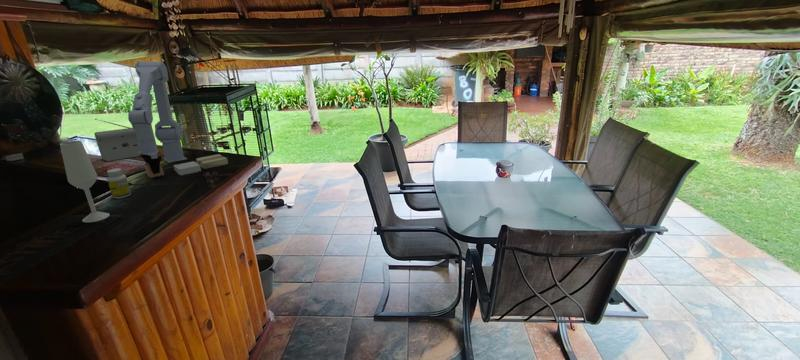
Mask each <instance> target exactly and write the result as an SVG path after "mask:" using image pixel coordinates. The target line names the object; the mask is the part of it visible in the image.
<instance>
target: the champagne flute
mask: <svg viewBox="0 0 800 360" xmlns="http://www.w3.org/2000/svg"><path fill="white" fill-rule="evenodd" d="M59 145H60V146H59V147H60V152H61V156H62V160H63V165H64V170H65V174H66V179H67V183H69V184H70V185H72V186H74V187H76V188H77V189H81V190H83V191H84V194H85V196H86V199H87V202H88V206H89V208H90V211H91V212H90V213H89V214H87V216H85V217H84V218H82V220H81V222H83V223H95V222H99V221H102V220H105V219H107V218H108V217H110V213H109V212H103V211H97V209H96V206H95V202H94V200H93V197H92V194H91V190H90V188H92V187H93V185H94V184H95V183H96V181H97V179H98V174H97V172H96V170H95V167H94V165H93V163H92V161H91V159H90V156H89V155H88V152H87V151H86V148H85V146H84V143H83V142H82V140H70V141H63V142H61V143H59Z"/></svg>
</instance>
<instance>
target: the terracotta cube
mask: <svg viewBox="0 0 800 360" xmlns="http://www.w3.org/2000/svg"><path fill="white" fill-rule="evenodd" d="M143 164H144V168H145V172H146V175H147V176H148V177H149V179H152V178H156V176H157V177H161V175H162V176H165V173H164V168H163V165H162V162H160V173H157V174H153V172H152V170H151V168H150V166H149V164H148V163H146V162H144V163H143Z"/></svg>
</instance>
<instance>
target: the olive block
mask: <svg viewBox="0 0 800 360" xmlns="http://www.w3.org/2000/svg"><path fill="white" fill-rule="evenodd" d="M195 162H196V163H197V164H199V165H200V168H201V169H204V170H205V169H210V168H215V167H221V166H225V165H229V160H228V158H227V157H225V156H223V155H221V154H219V153H217V154H212V155H207V156H201V157H197V158H195Z"/></svg>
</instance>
